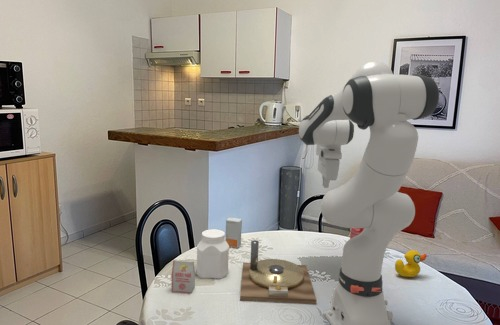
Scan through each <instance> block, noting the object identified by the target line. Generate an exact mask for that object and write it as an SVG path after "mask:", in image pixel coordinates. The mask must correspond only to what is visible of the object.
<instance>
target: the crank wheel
mask: <svg viewBox="0 0 500 325" xmlns="http://www.w3.org/2000/svg"><path fill="white" fill-rule="evenodd" d="M259 243H260V242H259V240H254V239H253V240H251V241H250V262H249V263H250V269H249V277H250V279H251V280H252V281H253V282H254V283H255V284H257V285H259V286H261V287H264V288H267V289H269V286H270V287H276V286H280V287H287V288H288V289H292V288H295V287H297V286H299V285H300V284H301V283H302V282H303V275H304V273H303V270H302V269H301V268H300V267H299V266H298V265H299V264H296V263H294V262H292V261H288V260H286V259H279V258H267V259H266V258H265V259H261V260H259Z"/></svg>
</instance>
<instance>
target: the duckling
mask: <svg viewBox="0 0 500 325" xmlns="http://www.w3.org/2000/svg"><path fill="white" fill-rule="evenodd" d="M403 258H404V259H405V261H406V262H407V263H405V264H404V261H403V260H402V259H397V260H396V261H395V264H394V270H395V271H396V273H397V274H398V275H399V276H401V277H404V278H414V277H416V276H417V275H419V274H420V272H421V266H420V264H419V263H420V262H424V261H425V260H426V258H427V253H424V254H422V255H421V253H420V252H418V251H417V250H413V249H411V250H409V251H407V252H405V254H404V257H403Z"/></svg>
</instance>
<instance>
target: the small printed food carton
mask: <svg viewBox="0 0 500 325" xmlns="http://www.w3.org/2000/svg"><path fill="white" fill-rule="evenodd" d="M171 269H172V270H171V292H172V293H181V294H182V293H183V294H193V292H194V290H195V286H196V281H195V280H196V279H195V278H196V270H195V262H194V261H186V260H173V261H172V268H171Z"/></svg>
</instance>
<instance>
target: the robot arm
mask: <svg viewBox="0 0 500 325" xmlns="http://www.w3.org/2000/svg"><path fill="white" fill-rule="evenodd" d="M439 101H440V90H439V87H438V85H437V83H436V81H435V80H434V79H433V78H432V77H430V76H426V75H422V74H418V73H417V74H394V73H393V71H392V69H391V68H390V67H389V66H388V65H387V64H386V63H384V62H382V61H379V60H377V61H374V60H372V61H368V62H366V63H364V64H362V65H361V66H360V67H359V68H358V69H357V70H356V71H355V72H354V73H353V75H352V76H351V77H350V78H349V80H348V81H347V82H346V84H344V86H343V87H342V88H340V89H339V90H337V91H336V92H334V93H332V94H330V95H328V96H326V97H325V98H323V99H322V100H321V101H320V102H319V103H318V104H317V106H315V107H314V109H312V111H311V112H310V114H308V115H306V116H304V118H302V119H301V121H300V123H299V127H298V138H299V139H300V140H301V141H302V143H304V144H305V145H306V146H313V145H316V150H315V154H316V156H318V158H317V159H318V162H317V171H318V172H319V173H320V174H321V178H322V187H323V188H325V189H329V188H330V181H337V179H338V176H339V169H340V164H341V163H340V161H341V160H342V156H343V154H342V149H341V148H342V146H345V145H348V144H349V143H350V142H351V141H352V140H353V138H354V135H355V125H356V126H357V128H358V129H360V130H363V131H364V130H367V129H368V128H369V132H370V134H369V135H370V136H369V140H368V143H367V145H366V148H365V150H364V154H363V156H362V158H361V162H360V164H359V167H358V169H357V170H356V172H355V174H354V175H353V176H352V177H350V179H349V180H347V181H345V183H343V184H342V185H340V186H337V187H336V188H333V189H330V190H328V191H327V192H326V193H325V194H324V195H323V198H322V199H321V202H320V211H321V214H322V217H323V219H324V220H325V222H326V223H327V224H329V225H333V226H337V227H341V228H347V229H348V228H349V229H351V228H364V230H363V231H362V232H361V233H360V234H359V235H357V236H355V237H353V238H351V239H350V238H349V239H348V240H347V241H346V242H345V244H344V245H343V248H342V259H341V266H340V268H339V273H338V284H337V285H336V286H335V287H334V288H332V289H333V290H332V295H331V300H330V301H331V302H330V308H328V309H326V310H325V311H324V316H325V318H326V319H327V321H328V323H329V324H330V325H392V324H391V321H393V316H394V315H393V312H392V311H390V310H387V306H388V305H389V304H388V303H389V302H388V300H387V299H385V295H384V290H383V275H382V269H383V263H384V262H383V261H384V258H385V253H386V249H387V247H388V246H389V244H390V243H391V242H392V240H393V238H394V237H396V235H397V234H398V233H400V232H401V231H403V230H405V229H406V228H407V227H409V226H410V225H411V224H412V222H413V221H414V219H415V216H416V207H415V202H414V201H413V200H412V198H411V196H410V195H408V194H407V193H402V192H399V191H400V189H401V187H402V185H403V183H404V181H405V178H406V176H407V174H408V172H409V171H410V168H411V166H412V164H413V161H414V158H415V155H416V151H417V148H418V144H419V143H418V142H419V132H418V131H417V128H416V127H415V126H414V124H413V123H411V122H409V121H408V120H412V121H413V120H414V121H416V120H421V119H424V118H427V117H430V116H431V115H433V113H434V112H435V111H436V109H437V107H438V104H439Z"/></svg>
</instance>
